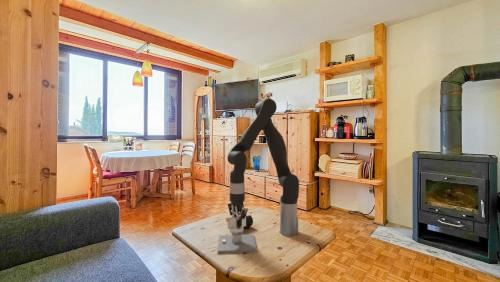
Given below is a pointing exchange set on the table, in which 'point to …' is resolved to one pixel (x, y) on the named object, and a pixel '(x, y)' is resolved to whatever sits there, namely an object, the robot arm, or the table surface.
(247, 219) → the end cap
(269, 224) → the table surface
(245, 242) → the base
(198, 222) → the table surface
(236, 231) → the lock knob
